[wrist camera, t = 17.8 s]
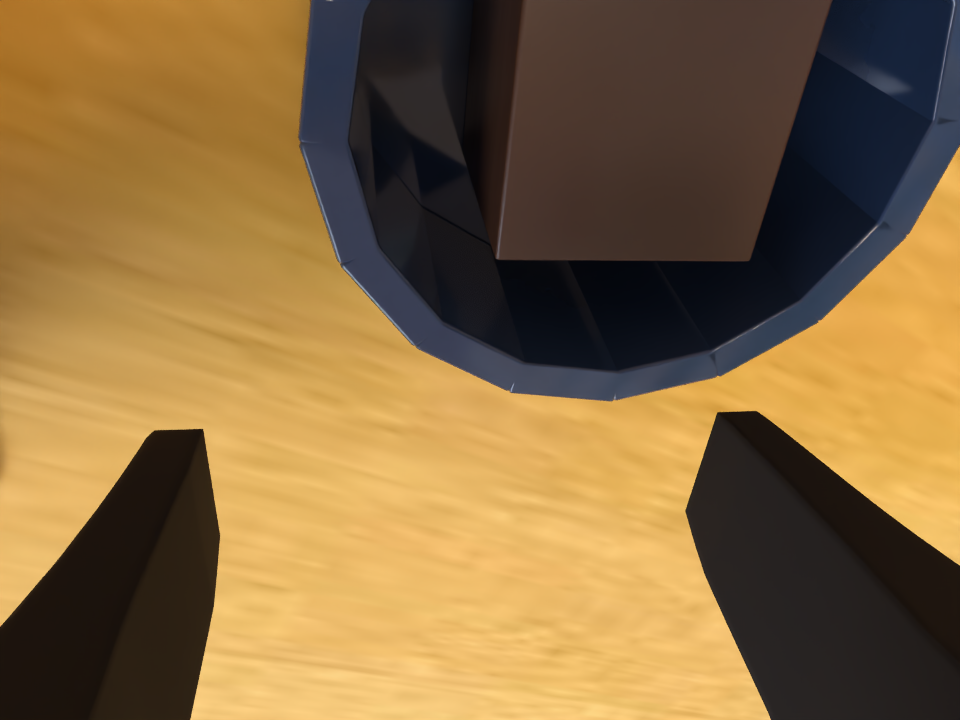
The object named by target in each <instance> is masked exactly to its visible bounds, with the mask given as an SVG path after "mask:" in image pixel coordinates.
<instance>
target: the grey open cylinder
mask: <svg viewBox="0 0 960 720" xmlns="http://www.w3.org/2000/svg"><path fill="white" fill-rule="evenodd" d="M473 5H474V0H310V10H309V21H308V32H307V43H306V55H305V66H304V77H303V88H302V99H301V111H300V122H299V133H298V138H299V141H300V144H299V147H300V150H301V153H302V156H303V159H304V162H305V165H306V168H307V171H308V174H309V177H310V180H311V183H312V186H313V189H314V192H315V195H316V198H317V201H318V204H319V208H320V211H321V214H322V217H323V220H324V223H325V226H326V229H327V232H328V235H329V238H330V241H331V244H332V247H333V250H334V253H335V256H336V259H337V261H338V262H339V263H340V265H341V267H342V268H343V269H344V271H345V272H346V273H347V274H348V275H349V276H350V277H351V278H352V279H353V280H354V282H355V283H356V284H357V285H358V286H359V287H360V288H361V289H362V290H363V291H364V293H365V294H366V295H367V296H368V297H369V298H370V299H371V300H372V301H373V303H374V304H375V305H376V306H377V307H378V308H379V309H380V310H381V311H382V312H383V314H384V315H385V316H386V317H387V318H388V319H389V320H390V321H391V322H392V323H393V325H394V326H395V327H396V328H397V329H398V330H399V331H400V332H401V333H402V334H403V336H404V337H405V338H406V339H407V340H408V341H409V342H410V343H411V344H412V345H413V346H416V348H417V349H419V350H421V351H423V352H425V353H427V354H429V355H432V356H434V357H436V358H438V359H440V360H442V361H444V362H447V363H449V364H451V365H453V366H455V367H457V368H459V369H461V370H464V371H466V372H468V373H470V374H472V375H474V376H476V377H479V378H481V379H483V380H485V381H487V382H489V383H491V384H493V385H496V386H498V387H500V388H502V389H504V390H506V391H510V392H511V393H518V394H530V395H542V396H553V397H565V398H577V399H588V400H600V401H613V400H620V399H624V398H629V397H633V396H637V395H642V394H646V393H650V392H655V391H659V390H664V389H668V388H672V387H677V386H681V385H686V384H690V383H694V382H699V381H703V380H707V379H712V378H715V377H717V376H722V375H724V374H726V373H728V372H730V371H731V370H733V369H735V368H737V367H739V366H740V365H742V364H744V363H746V362H748V361H750V360H751V359H753V358H755V357H757V356H759V355H760V354H762V353H764V352H766V351H768V350H769V349H771V348H773V347H775V346H777V345H779V344H780V343H782V342H784V341H786V340H788V339H789V338H791V337H793V336H795V335H797V334H798V333H800V332H802V331H804V330H806V329H808V328H809V327H811V326H813V325H815V324H817V323H818V320H822V319H823V318H824V317H825V316H826V315H827V314H828V313H829V312H830V311H831V310H832V309H833V308H834V307H835V306H836V305H837V304H838V303H839V302H840V301H841V300H842V299H843V298H845V297H846V296H847V295H848V294H849V293H850V292H851V291H852V290H853V289H854V288H855V287H856V286H857V285H858V284H859V283H860V282H861V281H862V280H863V279H864V278H865V277H866V276H867V275H868V274H869V273H870V272H871V271H872V270H873V269H874V268H875V267H876V266H877V265H878V264H879V263H880V262H881V261H883V260H884V259H885V258H886V257H887V256H888V255H889V254H890V253H891V252H892V251H893V250H894V249H895V248H896V247H897V246H898V245H899V244H900V243H901V242H902V241H903V240H904V239H905V238H906V236H907V235H908V234H909V233H910V232H911V230H912V228H913V226H914V225H915V223H916V221H917V219H918V218H919V216H920V214H921V212H922V211H923V209H924V207H925V205H926V204H927V202H928V200H929V198H930V197H931V195H932V193H933V191H934V190H935V188H936V186H937V184H938V183H939V181H940V179H941V178H942V176H943V174H944V172H945V171H946V169H947V167H948V165H949V164H950V162H951V160H952V158H953V157H954V155H955V153H956V151H957V150H958V148H959V146H960V0H832V3H831V7H830V10H829V13H828V16H827V19H826V22H825V26H824V29H823V32H822V35H821V38H820V41H819V44H818V48H817V51H816V54H815V57H814V60H813V63H812V67H811V70H810V73H809V76H808V79H807V82H806V85H805V89H804V92H803V95H802V98H801V101H800V104H799V108H798V111H797V114H796V117H795V120H794V123H793V126H792V130H791V133H790V136H789V139H788V142H787V145H786V149H785V152H784V155H783V158H782V161H781V164H780V167H779V171H778V174H777V177H776V180H775V183H774V186H773V189H772V193H771V196H770V199H769V202H768V205H767V208H766V212H765V215H764V218H763V221H762V224H761V227H760V230H759V234H758V237H757V240H756V243H755V246H754V249H753V253H752V256H751V259H750V260H749V261H599V260H498V259H496V258H495V256H494V253H493V250H492V246H491V243H490V240H489V237H488V233H487V230H486V227H485V224H484V220H483V217H482V214H481V211H480V208H479V204H478V201H477V198H476V195H475V191H474V188H473V185H472V182H471V178H470V175H469V172H468V169H467V165H466V162H465V159H464V156H463V140H464V127H465V113H466V100H467V86H468V73H469V59H470V45H471V32H472V18H473Z"/></svg>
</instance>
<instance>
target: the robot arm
mask: <svg viewBox="0 0 960 720" xmlns="http://www.w3.org/2000/svg"><path fill="white" fill-rule="evenodd" d="M686 515H687V518H688V522H689V525H690V529H691V532H692V535H693V539H694V542H695V546H696V549H697V552H698V555H699V558H700V561H701V564H702V567H703V570H704V574H705V576H706V578H707V580H708V583H709V585H710V587H711V590H712V592H713V594H714V596H715V598H716V601H717V603H718V605H719V607H720V609H721V612H722V614H723V616H724V618H725V620H726V623H727V625H728V627H729V629H730V631H731V633H732V636H733V638H734V640H735V642H736V644H737V646H738V648H739V651H740V653H741V655H742V657H743V659H744V661H745V664H746V666H747V668H748V670H749V672H750V674H751V676H752V679H753V681H754V683H755V685H756V687H757V689H758V692H759V694H760V696H761V698H762V700H763V702H764V704H765V707H766V709H767V711H768V713H769V716H770V718H771V720H960V566H959V565H958V564H956V563H955V562H954V561H952V560H951V559H949V558H948V557H947V556H945V555H944V554H942V553H941V552H940V551H938V550H937V549H935V548H934V547H932V546H931V545H930V544H928V543H927V542H925V541H924V540H923V539H921V538H920V537H918V536H917V535H916V534H914V533H913V532H911V531H910V530H909V529H907V528H906V527H905V526H903V525H902V524H901V523H899V522H898V521H897V520H895V519H894V518H893V517H891V516H890V515H889V514H887V513H886V512H885V511H883V510H882V509H881V508H880V507H878V506H877V505H876V504H874V503H873V502H872V501H870V500H869V499H868V498H867V497H865V496H864V495H863V494H862V493H860V492H859V491H858V490H856V489H855V488H854V487H853V486H851V485H850V484H849V483H848V482H846V481H845V480H844V479H843V478H841V477H840V476H839V475H838V474H836V473H835V472H834V471H833V470H831V469H830V468H829V467H828V466H826V465H825V464H824V463H823V462H821V461H820V460H819V459H818V458H816V457H815V456H814V455H813V454H811V453H810V452H809V451H808V450H806V449H805V448H804V447H803V446H802V445H800V444H799V443H798V442H796V441H795V440H794V439H793V438H791V437H790V436H789V435H788V434H786V433H785V432H784V431H783V430H781V429H780V428H779V427H778V426H776V425H775V424H774V423H772V422H771V421H770V420H768V419H767V418H766V417H764V416H763V415H761V414H760V413H759V412H757V411H745V412H718V413H717V416H716V419H715V422H714V425H713V428H712V431H711V434H710V437H709V440H708V443H707V446H706V449H705V452H704V456H703V459H702V462H701V465H700V468H699V471H698V474H697V477H696V480H695V483H694V486H693V489H692V492H691V495H690V498H689V501H688V505H687V508H686ZM219 542H220V532H219V526H218V520H217V514H216V507H215V501H214V495H213V489H212V482H211V476H210V470H209V463H208V457H207V451H206V445H205V438H204V432H203V429H187V430H156V431H154V432H152V433H151V434H150V435H149V436H148V437H147V438H146V439H145V441H144V442H143V444H142V446H141V447H140V449H139V450H138V452H137V453H136V455H135V456H134V458H133V459H132V461H131V462H130V463H129V465H128V466H127V468H126V469H125V471H124V472H123V474H122V475H121V477H120V478H119V479H118V481H117V482H116V484H115V485H114V487H113V488H112V489H111V491H110V492H109V493H108V495H107V496H106V498H105V499H104V500H103V502H102V503H101V504H100V506H99V507H98V509H97V510H96V511H95V513H94V514H93V515H92V517H91V518H90V519H89V520H88V522H87V523H86V524H85V526H84V527H83V528H82V529H81V531H80V532H79V533H78V535H77V536H76V537H75V538H74V540H73V541H72V542H71V544H70V545H69V546H68V548H67V549H66V550H65V551H64V553H63V554H62V555H61V557H60V558H59V559H58V560H57V561H56V563H55V564H54V565H53V566H52V568H51V569H50V570H49V571H48V572H47V573H46V575H45V576H44V577H43V578H42V579H41V580H40V582H39V583H38V584H37V585H36V586H35V587H34V589H33V590H32V591H31V592H30V593H29V594H28V596H27V597H26V598H25V599H24V600H23V601H22V603H21V604H20V605H19V606H18V607H17V608H16V610H15V611H14V612H13V613H12V614H11V615H10V617H9V618H8V619H7V620H6V621H5V622H4V623H3V624H2V625H1V627H0V720H190V718H191V713H192V708H193V704H194V699H195V694H196V689H197V685H198V680H199V675H200V671H201V666H202V661H203V656H204V651H205V647H206V642H207V637H208V632H209V627H210V622H211V617H212V612H213V607H214V598H215V588H216V577H217V566H218V554H219Z"/></svg>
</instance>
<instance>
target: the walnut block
mask: <svg viewBox="0 0 960 720" xmlns="http://www.w3.org/2000/svg"><path fill="white" fill-rule="evenodd" d="M831 3H832V0H474V5H473V18H472V32H471V45H470V59H469V73H468V86H467V100H466V113H465V127H464V140H463V156H464V159H465V162H466V165H467V169H468V172H469V175H470V178H471V182H472V185H473V188H474V191H475V195H476V198H477V201H478V204H479V208H480V211H481V214H482V217H483V220H484V224H485V227H486V230H487V233H488V237H489V240H490V243H491V246H492V250H493V253H494V256H495V258H496V259H498V260H599V261H749V260H750V259H751V256H752V253H753V249H754V246H755V243H756V240H757V237H758V234H759V230H760V227H761V224H762V221H763V218H764V215H765V212H766V208H767V205H768V202H769V199H770V196H771V193H772V189H773V186H774V183H775V180H776V177H777V174H778V171H779V167H780V164H781V161H782V158H783V155H784V152H785V149H786V145H787V142H788V139H789V136H790V133H791V130H792V126H793V123H794V120H795V117H796V114H797V111H798V108H799V104H800V101H801V98H802V95H803V92H804V89H805V85H806V82H807V79H808V76H809V73H810V70H811V67H812V63H813V60H814V57H815V54H816V51H817V48H818V44H819V41H820V38H821V35H822V32H823V29H824V26H825V22H826V19H827V16H828V13H829V10H830V7H831Z"/></svg>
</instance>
